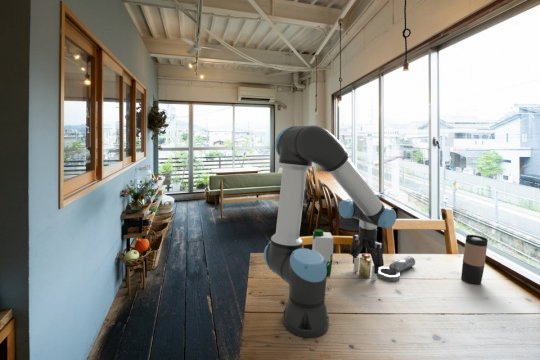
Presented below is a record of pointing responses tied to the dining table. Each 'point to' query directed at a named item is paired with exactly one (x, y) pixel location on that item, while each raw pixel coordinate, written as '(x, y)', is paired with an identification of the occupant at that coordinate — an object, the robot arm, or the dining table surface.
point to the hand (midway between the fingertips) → (364, 275)
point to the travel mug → (474, 259)
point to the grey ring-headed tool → (396, 269)
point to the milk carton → (324, 247)
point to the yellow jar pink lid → (365, 266)
